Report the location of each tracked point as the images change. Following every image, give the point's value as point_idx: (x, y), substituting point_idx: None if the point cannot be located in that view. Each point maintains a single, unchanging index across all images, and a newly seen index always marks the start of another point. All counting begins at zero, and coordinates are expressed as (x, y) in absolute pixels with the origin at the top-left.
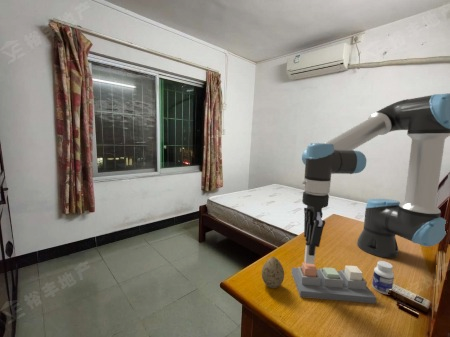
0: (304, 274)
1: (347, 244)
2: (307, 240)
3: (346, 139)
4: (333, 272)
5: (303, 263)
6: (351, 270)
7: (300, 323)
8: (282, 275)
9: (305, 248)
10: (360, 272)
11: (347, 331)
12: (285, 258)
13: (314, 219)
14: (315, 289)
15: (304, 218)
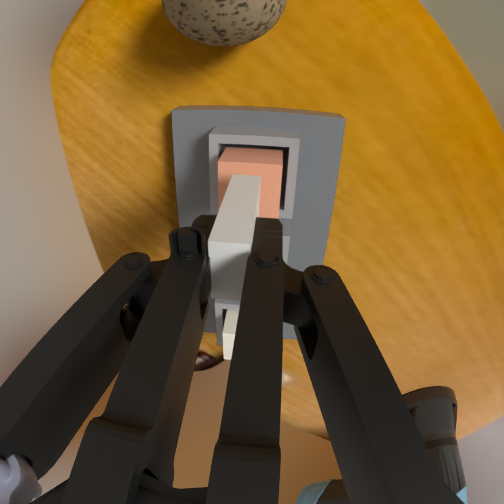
0: (228, 150)
1: (458, 370)
2: (248, 266)
3: None
4: None
5: (268, 167)
6: (233, 339)
7: (73, 88)
8: (182, 32)
9: (254, 215)
10: (225, 355)
11: (81, 205)
12: (448, 132)
13: (37, 498)
14: (191, 173)
15: (416, 429)
